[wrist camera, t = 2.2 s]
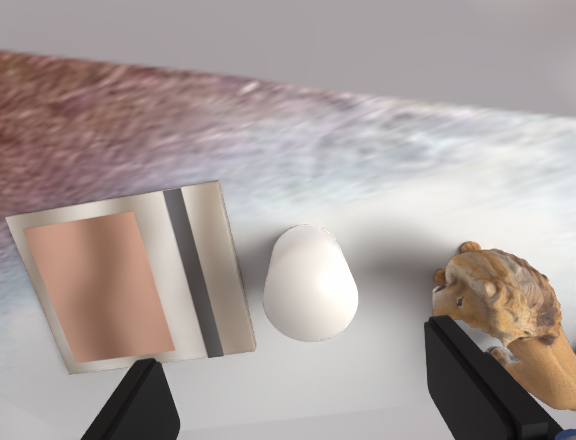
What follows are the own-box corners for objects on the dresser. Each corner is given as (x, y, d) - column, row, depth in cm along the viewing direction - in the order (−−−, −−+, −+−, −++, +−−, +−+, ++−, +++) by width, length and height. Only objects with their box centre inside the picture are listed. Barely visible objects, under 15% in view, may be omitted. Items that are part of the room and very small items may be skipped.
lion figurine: (382, 254, 21) (442, 332, 12) (441, 202, 20) (552, 246, 11) (508, 376, 23) (635, 515, 14) (568, 334, 22) (743, 457, 13)
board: (219, 180, 20) (215, 181, 19) (256, 344, 23) (254, 352, 22) (15, 214, 21) (3, 217, 20) (77, 367, 24) (68, 375, 23)
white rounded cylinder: (336, 219, 20) (352, 248, 15) (345, 284, 22) (363, 335, 16) (266, 230, 21) (254, 263, 15) (278, 293, 22) (272, 347, 16)
